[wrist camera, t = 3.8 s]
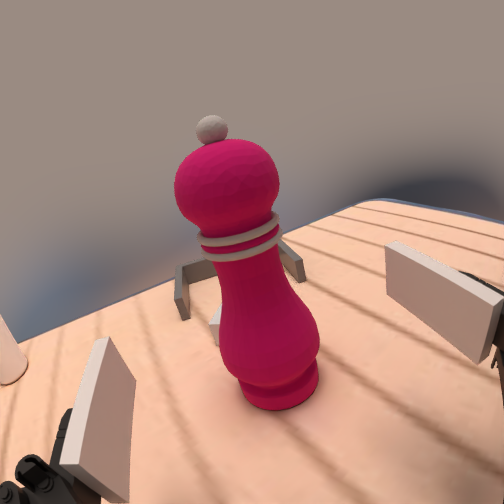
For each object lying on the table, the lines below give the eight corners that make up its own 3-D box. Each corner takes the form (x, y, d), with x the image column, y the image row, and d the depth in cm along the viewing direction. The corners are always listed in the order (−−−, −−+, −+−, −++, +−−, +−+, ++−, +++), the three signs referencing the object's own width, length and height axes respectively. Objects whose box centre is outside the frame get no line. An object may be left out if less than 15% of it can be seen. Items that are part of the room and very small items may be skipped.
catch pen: (280, 252, 47) (276, 235, 46) (306, 280, 37) (302, 259, 36) (182, 283, 45) (175, 266, 44) (182, 320, 35) (174, 299, 34)
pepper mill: (292, 341, 27) (237, 115, 20) (343, 381, 21) (297, 92, 13) (223, 378, 24) (138, 141, 17) (264, 432, 18) (156, 119, 11)
